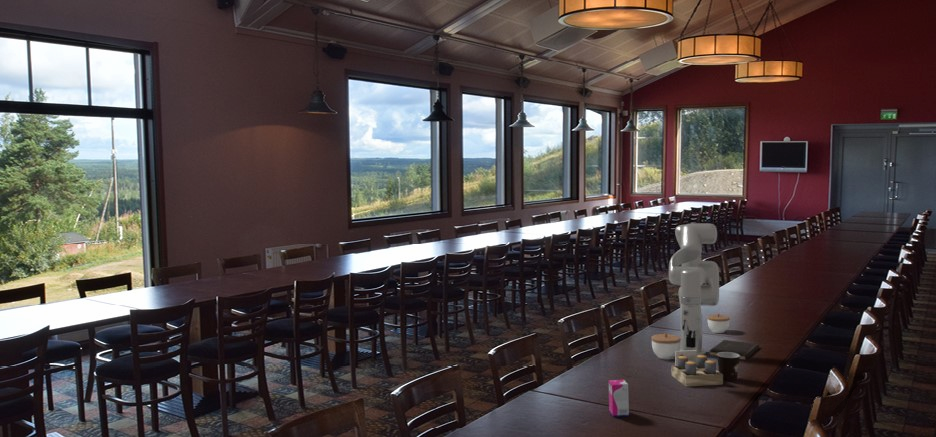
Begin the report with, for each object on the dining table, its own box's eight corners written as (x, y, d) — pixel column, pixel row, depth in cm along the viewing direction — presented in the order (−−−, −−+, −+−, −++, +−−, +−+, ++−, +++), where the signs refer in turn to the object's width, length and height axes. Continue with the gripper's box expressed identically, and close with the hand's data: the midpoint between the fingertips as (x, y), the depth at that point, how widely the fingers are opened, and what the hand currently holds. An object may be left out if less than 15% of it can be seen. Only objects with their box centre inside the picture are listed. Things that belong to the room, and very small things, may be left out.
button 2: (683, 373, 276) (683, 361, 275) (693, 373, 276) (693, 360, 276) (687, 376, 271) (687, 364, 271) (698, 376, 272) (698, 363, 271)
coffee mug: (725, 383, 272) (725, 358, 272) (712, 377, 281) (712, 353, 280) (750, 380, 275) (751, 355, 275) (737, 374, 284) (737, 350, 283)
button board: (671, 375, 285) (671, 365, 285) (706, 373, 286) (706, 363, 286) (685, 386, 270) (685, 376, 270) (722, 384, 271) (722, 374, 271)
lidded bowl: (681, 361, 304) (681, 337, 303) (652, 360, 306) (652, 336, 305) (679, 353, 316) (679, 330, 315) (650, 353, 318) (650, 329, 318)
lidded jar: (732, 334, 349) (732, 315, 348) (711, 334, 349) (711, 316, 349) (725, 329, 360) (725, 311, 359) (704, 329, 360) (704, 311, 359)
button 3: (694, 367, 284) (694, 355, 284) (704, 366, 285) (704, 354, 284) (699, 370, 280) (699, 357, 280) (709, 369, 280) (709, 357, 280)
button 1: (675, 368, 284) (675, 356, 283) (685, 367, 284) (685, 355, 284) (679, 371, 279) (679, 358, 279) (689, 370, 280) (689, 358, 279)
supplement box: (624, 410, 246) (624, 379, 245) (629, 416, 240) (628, 384, 239) (608, 411, 246) (608, 379, 245) (612, 417, 240) (612, 384, 239)
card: (675, 372, 289) (675, 351, 288) (696, 371, 289) (696, 350, 289) (675, 372, 288) (675, 351, 287) (696, 371, 289) (696, 350, 288)
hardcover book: (708, 355, 314) (708, 350, 313) (724, 344, 332) (724, 339, 332) (745, 361, 304) (745, 355, 304) (759, 349, 322) (759, 344, 322)
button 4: (703, 372, 276) (703, 360, 276) (713, 372, 277) (713, 359, 276) (707, 375, 272) (707, 363, 272) (717, 375, 272) (717, 362, 272)
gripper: (692, 304, 263) (692, 352, 264) (707, 299, 275) (707, 344, 276) (673, 302, 268) (673, 349, 269) (689, 297, 279) (689, 342, 280)
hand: (690, 346), depth 272 cm, fingers closed
